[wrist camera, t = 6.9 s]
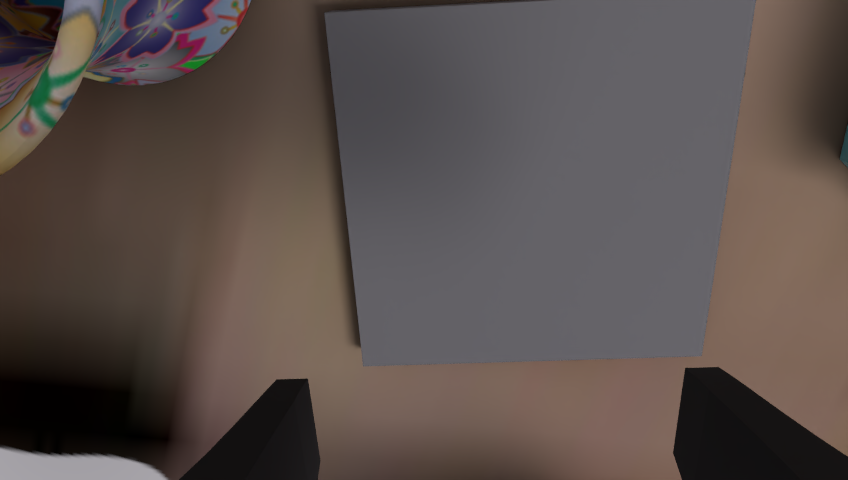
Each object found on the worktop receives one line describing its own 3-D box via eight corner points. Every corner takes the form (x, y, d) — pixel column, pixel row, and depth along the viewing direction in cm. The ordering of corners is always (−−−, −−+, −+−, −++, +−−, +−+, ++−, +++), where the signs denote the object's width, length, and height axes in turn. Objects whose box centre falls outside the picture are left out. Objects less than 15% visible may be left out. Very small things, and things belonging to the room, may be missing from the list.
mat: (690, 340, 23) (701, 355, 22) (366, 350, 23) (363, 366, 22) (741, -12, 18) (757, -11, 17) (329, 10, 18) (324, 13, 17)
